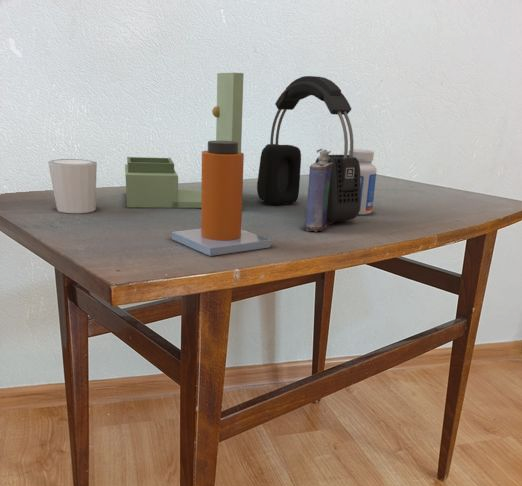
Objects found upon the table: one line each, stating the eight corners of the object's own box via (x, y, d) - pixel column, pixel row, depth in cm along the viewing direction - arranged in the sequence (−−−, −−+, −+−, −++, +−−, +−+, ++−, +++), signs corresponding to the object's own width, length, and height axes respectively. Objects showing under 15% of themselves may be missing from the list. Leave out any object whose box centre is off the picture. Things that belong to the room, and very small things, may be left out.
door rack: (127, 210, 91) (121, 66, 83) (126, 192, 105) (120, 67, 97) (239, 210, 95) (243, 73, 86) (223, 193, 109) (225, 73, 101)
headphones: (252, 200, 103) (256, 74, 95) (282, 199, 106) (289, 76, 98) (329, 226, 86) (342, 75, 78) (363, 223, 89) (379, 77, 81)
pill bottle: (362, 208, 102) (369, 149, 98) (377, 215, 97) (385, 152, 93) (333, 208, 100) (339, 148, 96) (347, 215, 95) (354, 152, 91)
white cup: (79, 203, 94) (76, 157, 91) (109, 209, 90) (106, 162, 87) (42, 208, 89) (37, 160, 86) (72, 216, 85) (68, 165, 82)
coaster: (210, 256, 69) (210, 247, 69) (171, 239, 75) (171, 231, 75) (270, 247, 74) (270, 239, 74) (229, 232, 81) (229, 225, 80)
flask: (319, 232, 83) (325, 152, 78) (299, 230, 84) (304, 150, 79) (336, 221, 91) (343, 148, 86) (318, 219, 92) (324, 146, 87)
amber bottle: (194, 237, 73) (194, 141, 68) (212, 229, 77) (213, 139, 73) (230, 242, 71) (233, 145, 67) (247, 234, 76) (250, 142, 71)
